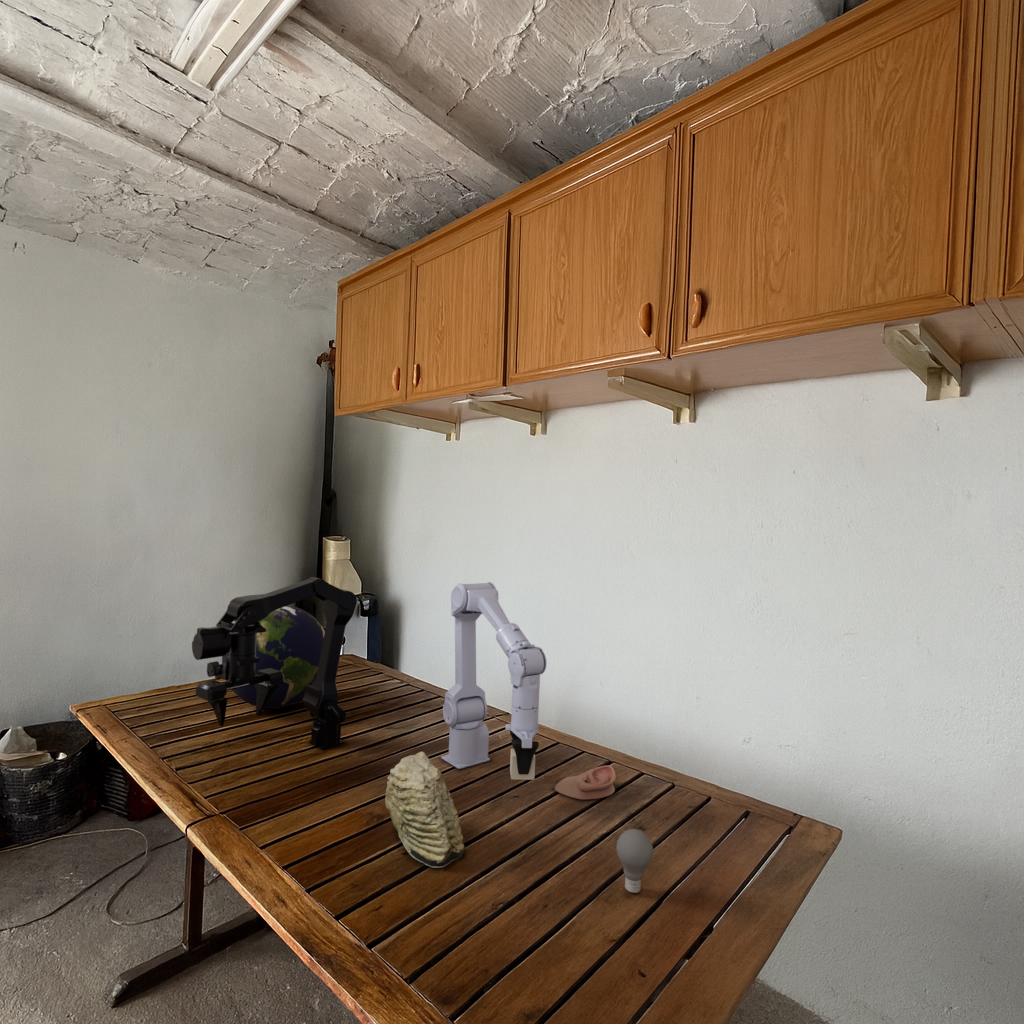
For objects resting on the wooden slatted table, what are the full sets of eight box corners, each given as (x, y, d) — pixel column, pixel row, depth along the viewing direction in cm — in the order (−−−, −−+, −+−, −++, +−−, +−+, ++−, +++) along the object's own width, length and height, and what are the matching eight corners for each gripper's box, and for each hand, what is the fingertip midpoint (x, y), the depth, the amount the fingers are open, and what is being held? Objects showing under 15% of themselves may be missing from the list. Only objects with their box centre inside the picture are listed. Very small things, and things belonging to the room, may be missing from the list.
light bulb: (610, 879, 108) (613, 822, 108) (644, 879, 109) (647, 822, 109) (619, 902, 102) (622, 840, 102) (655, 901, 103) (658, 840, 103)
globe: (289, 685, 209) (292, 594, 208) (348, 705, 191) (352, 606, 191) (199, 706, 185) (203, 604, 184) (258, 732, 167) (262, 619, 167)
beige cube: (509, 771, 136) (510, 748, 136) (532, 771, 137) (533, 748, 137) (511, 779, 132) (512, 756, 132) (534, 779, 132) (535, 756, 132)
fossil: (411, 815, 127) (414, 741, 127) (473, 855, 114) (476, 772, 114) (373, 831, 121) (376, 753, 120) (434, 874, 108) (437, 787, 107)
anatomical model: (553, 777, 138) (560, 757, 150) (552, 795, 138) (559, 774, 150) (614, 786, 136) (616, 764, 147) (613, 804, 136) (616, 781, 147)
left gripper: (258, 640, 157) (256, 703, 158) (183, 653, 142) (181, 722, 142) (286, 648, 151) (283, 713, 151) (210, 662, 136) (208, 735, 136)
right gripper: (504, 694, 141) (502, 754, 141) (508, 716, 127) (505, 783, 127) (536, 694, 142) (533, 755, 142) (543, 717, 127) (540, 784, 127)
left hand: (240, 720), depth 145 cm, fingers open, 9 cm apart
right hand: (522, 768), depth 134 cm, fingers closed on beige cube, 4 cm apart
